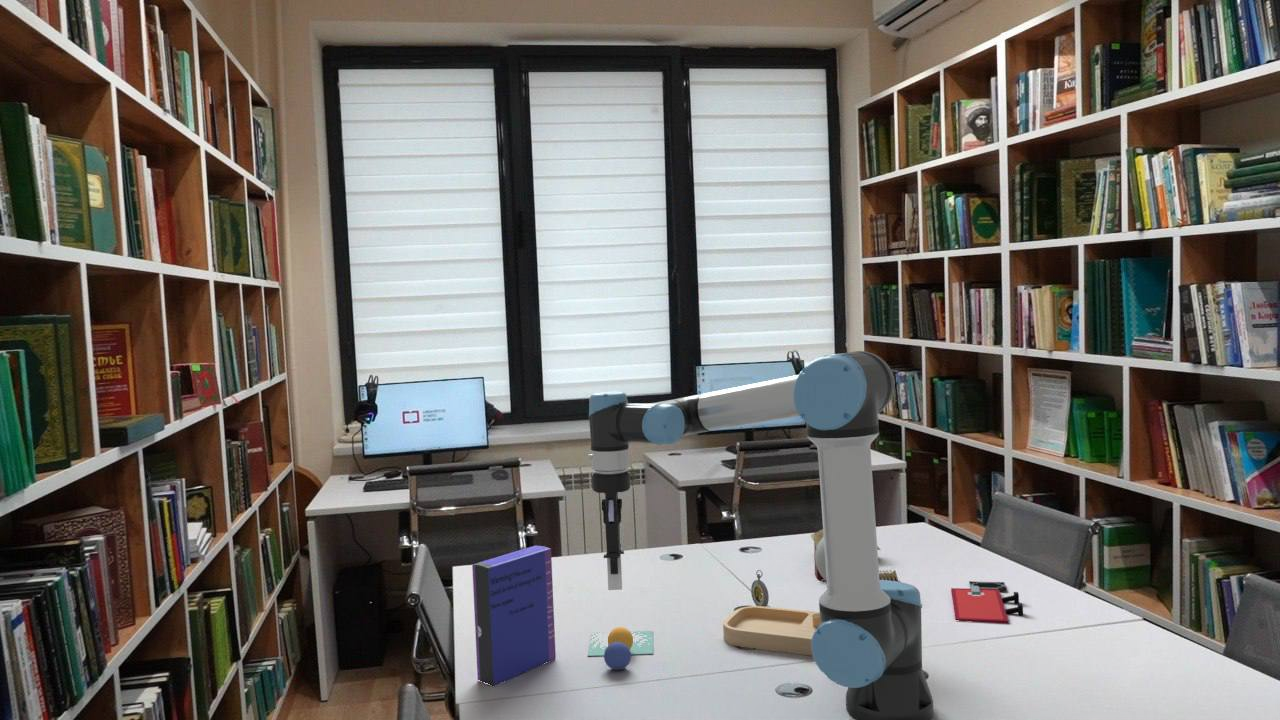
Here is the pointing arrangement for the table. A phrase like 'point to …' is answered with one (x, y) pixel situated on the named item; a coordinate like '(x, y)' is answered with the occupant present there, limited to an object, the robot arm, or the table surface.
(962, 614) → the red board with handle
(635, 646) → the green mark
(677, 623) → the table surface
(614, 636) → the orange ball
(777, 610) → the lamp
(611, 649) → the blue ball
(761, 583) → the pocket watch
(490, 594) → the purple book
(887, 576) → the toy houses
